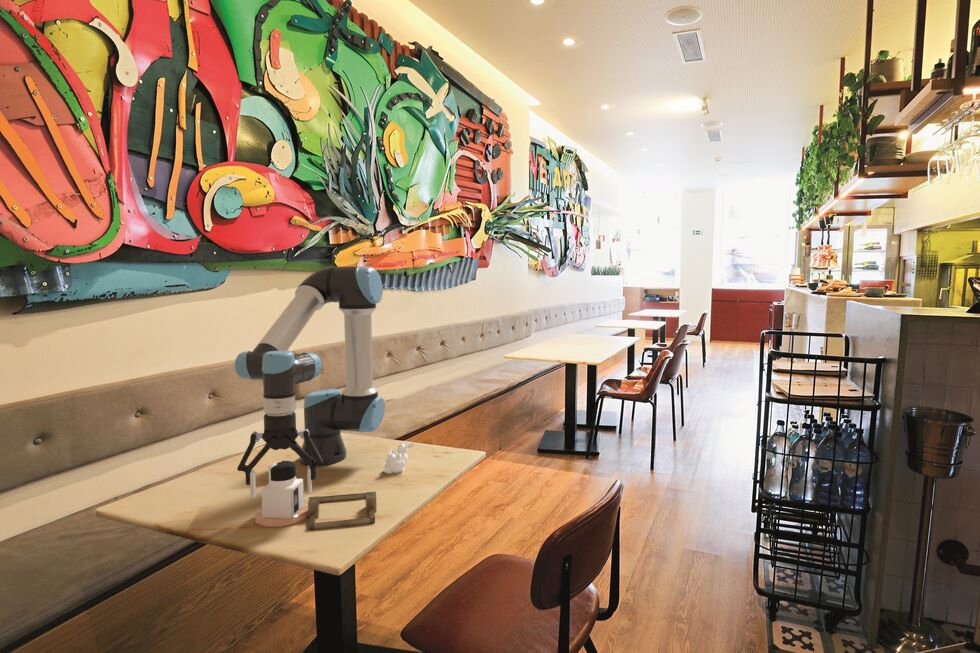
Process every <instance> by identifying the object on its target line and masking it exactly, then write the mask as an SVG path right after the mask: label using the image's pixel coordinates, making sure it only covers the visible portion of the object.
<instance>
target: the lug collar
mask: <svg viewBox="0 0 980 653" xmlns="http://www.w3.org/2000/svg"><path fill="white" fill-rule="evenodd" d="M362 499H365V507H366V508H365V510H366V513H367V514H368V513H369V517H362V518H352V519H351V518H350V519H342V520H331V521H321V522H316V520H317V518H319V516H320V503H327V502H339V501H351V500H362ZM307 507H308V517H307V518H308V519H309V521H308V530H309V531H311V530H322V529H331V528H332V529H333V528H340V527H342V528H344V527H352V526H362V525H363V526H364V525H369V524H371V525H373V524H375V523H376V516H375V513H376V512H377V492H376V491H366V492H362V493H360V492H359V493H346V494H336V495H326V496H325V495H324V496H323V495H322V496H318V495H317V496H309V497H308V501H307Z"/></svg>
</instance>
